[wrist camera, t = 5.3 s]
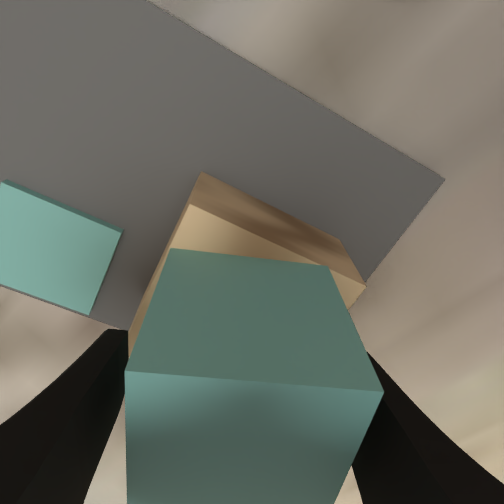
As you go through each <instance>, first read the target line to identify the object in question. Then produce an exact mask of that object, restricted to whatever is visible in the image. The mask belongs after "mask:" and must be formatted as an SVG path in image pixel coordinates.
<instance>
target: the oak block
mask: <svg viewBox="0 0 504 504" xmlns="http://www.w3.org/2000/svg"><path fill="white" fill-rule="evenodd" d="M170 248H177V249H186V250H195V251H203V252H212V253H221V254H229V255H238V256H247V257H255V258H264V259H273V260H281V261H290V262H298V263H307V264H316V265H324V266H328V267H329V270H330V272H331V274H332V276H333V279H334V281H335V283H336V285H337V287H338V290H339V292H340V294H341V296H342V299H343V301H344V303H345V305H346V308H347V310H349V308H350V307H351V306H352V305H353V303H354V302H355V301H356V300H357V298H358V297H359V296H360V294H361V293H362V292H363V291H364V289H365V288H366V287H367V286H366V284H365V283H364V281H363V279H362V277H361V276H360V274H359V272H358V271H357V269H356V267H355V265H354V264H353V262H352V260H351V258H350V257H349V255H348V253H347V252H346V250H345V248H344V246H343V245H342V243H341V241H340V240H339V239H338V238H336V237H334V236H332V235H329V234H327V233H325V232H323V231H321V230H319V229H317V228H315V227H313V226H311V225H309V224H307V223H305V222H303V221H301V220H299V219H297V218H295V217H293V216H291V215H289V214H287V213H285V212H283V211H281V210H279V209H277V208H275V207H273V206H271V205H269V204H267V203H265V202H263V201H261V200H259V199H257V198H255V197H253V196H251V195H249V194H247V193H245V192H243V191H241V190H239V189H236V188H234V187H232V186H230V185H228V184H226V183H224V182H222V181H220V180H218V179H216V178H214V177H212V176H210V175H208V174H206V173H204V172H202V171H201V173H200V175H199V177H198V179H197V181H196V183H195V186H194V188H193V190H192V192H191V194H190V196H189V198H188V201H187V203H186V205H185V207H184V209H183V211H182V214H181V216H180V218H179V220H178V222H177V224H176V226H175V229H174V231H173V233H172V235H171V237H170V239H169V241H168V244H167V246H166V248H165V250H164V252H163V254H162V257H161V259H160V261H159V263H158V265H157V267H156V269H155V272H154V274H153V276H152V278H151V280H150V282H149V285H148V287H147V289H146V291H145V293H144V295H143V298H142V300H141V302H140V305H139V307H138V310H137V312H136V315H135V317H134V319H133V322H132V324H131V327H130V329H129V332H128V349H129V357H130V355H131V352H132V350H133V347H134V344H135V342H136V339H137V336H138V333H139V331H140V328H141V325H142V323H143V320H144V317H145V315H146V312H147V309H148V307H149V304H150V301H151V299H152V296H153V293H154V291H155V288H156V285H157V283H158V280H159V277H160V274H161V272H162V269H163V266H164V264H165V261H166V258H167V256H168V253H169V250H170Z"/></svg>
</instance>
